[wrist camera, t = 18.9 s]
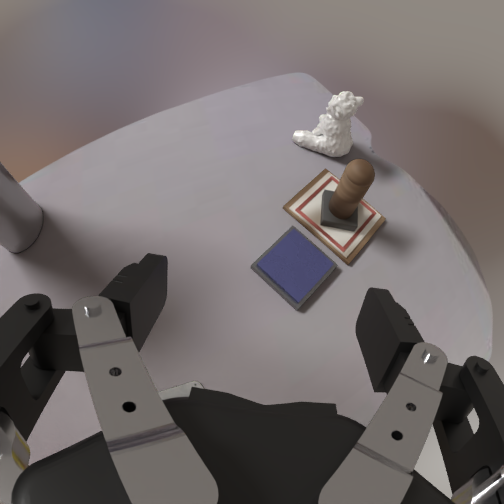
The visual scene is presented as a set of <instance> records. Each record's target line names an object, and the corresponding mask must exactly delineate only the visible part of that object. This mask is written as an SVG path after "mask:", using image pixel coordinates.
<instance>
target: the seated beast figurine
mask: <svg viewBox="0 0 504 504" xmlns="http://www.w3.org/2000/svg"><path fill="white" fill-rule="evenodd" d="M363 101H364V99H363V98H362V97H354V95H353V94H352V93H351V92H349V91H347V92H344V91H343V92H341V93H340V94H339V95H338V96H336V95H333V97H332V99H331V101H330V102H329V103H328V105H329V106H328V107H326V110H327V114H326V115H325V114H323V115H321V116H320V117H319V121H320V123H319V124H318V125H317V127H316V128H315V129H314V130H313V131H312V133H311V132H308V131H307V130H306V131H299V130H298V131H295V133H294V135H293V138H292V141H293V142H294V143H296V144H298V145H299V147H301V146H302V147H305V148H307V149H310V150H313V151H316V152H319V153H323V154H325V155H328V156H330V157H342V156H343V155H345V154H348V152H349V151H350V149H351V146H352V145H353V141H352V137H351V132H350V128H351V120H350V117H352V116H354V114H355V113H356V112H357V108H358V106H361V105H362V104H363Z"/></svg>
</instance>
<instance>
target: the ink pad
mask: <svg viewBox="0 0 504 504" xmlns="http://www.w3.org/2000/svg"><path fill="white" fill-rule="evenodd" d="M337 266H338V265H337V264H336V263H335V262H334V261H333V260H331V259H330V258H329V257H328V256H327V255H326V254H325V253H324V252H322V251H321V250H320V249H319V248H318V247H317V246H316V245H315V244H313V243H312V242H311V241H310V240H309V239H308V238H307V237H305V236H304V235H303V234H302V233H301V232H300V231H299V230H297V229H296V228H295V227H294V226H292V227H291V228H290V229H289V230H288V231H287V232H285V233H284V234H283V235H282V236H281V237H280V238H279V239H278V240H277V241H276V242H275V243H274V244H273V245H272V246H271V247H270V248H269V249H268V250H267V251H266V252H264V253H263V254H262V255H261V256H260V257H259V258H258V259H257V260H256V261H255V262H254V263H253V264H252V265H251V269H252V270H253V271H254V272H256V273H257V274H258V275H259V276H260V277H261V278H262V279H263V280H264V281H265V282H266V283H267V284H268V285H269V286H271V287H272V288H273V289H274V290H275V291H276V292H277V293H278V294H279V295H280V296H281V297H282V298H283V299H284V300H286V301H287V302H288V303H289V304H290V305H291V306H292V307H293V308H294V309H295V310H296V311H297V310H298V309H299V308H300V307H301V306H302V304H303V303H304V302H305V301H306V300H307V299H308V298H309V297H310V296H311V295H312V294H313V293H314V291H315V290H316V289H317V288H318V287H319V286H320V285H321V284H322V283H323V281H324V280H325V279H326V278H327V277H328V276H329V275H330V274H331V273H332V271H333V270H334V269H335V268H336V267H337Z"/></svg>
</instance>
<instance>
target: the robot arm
mask: <svg viewBox="0 0 504 504" xmlns="http://www.w3.org/2000/svg"><path fill="white" fill-rule="evenodd" d="M42 223H43V213H42V210H41V208H40V206H39V205H38V204H37V203H36V202H35V201H34V200H33V199H32V198H31V197H30V196H29V194H28V193H27V192H26V191H25V190H24V189H23V188H22V187H21V185H20V184H19V183H18V182H17V181H16V180H15V179H14V178H13V176H12V175H11V174H10V173H9V172H8V171H7V169H6V168H5V167H4V166H3V165H2V164H1V162H0V245H2V246H3V247H4V248H6V249H7V250H9V251H10V252H13V253H18V252H21V251H24V250H25V249H27V248H28V247H29V246H30V245H32V243H33V242H34V241H35V240H36V238H37V236H38V235H39V232H40V230H41V227H42ZM167 265H168V261H167V257H166V256H163V255H157V254H151V253H148V254H147V255H146V256H145V257H144V258H143V259H142V260H141V261H140V262H139V264H137V263H133V264H131V265H128V266H126V267H124V268H123V269H122V270H121V271H120V272H119V273H118V276H116V277H115V278H114V279H113V281H111V282H110V283H109V284H108V286H107V287H106V288H105V289H104V290H103V291H102V292H101V293H100V295H99V296H89V297H85V298H82V299H80V300H78V301H77V302H76V303H75V304H74V305H73V307H72V309H53V308H52V304H51V300H50V298H49V297H48V296H46V295H43V294H29V295H26V296H24V297H22V298H20V299H19V300H18V301H17V302H16V303H15V304H14V305H13V306H12V307H11V308H10V309H9V310H8V311H7V312H6V313H5V314H4V315H3V316H2V317H1V318H0V504H504V384H503V383H502V381H501V379H500V378H499V376H498V374H497V373H496V371H495V369H494V368H493V366H492V365H491V364H490V363H489V362H488V361H486V360H485V359H483V358H480V357H477V356H471V357H469V358H467V360H466V362H465V363H464V365H463V366H459V365H455V364H451V363H448V359H447V356H446V354H445V353H444V352H443V351H442V350H441V349H440V348H438V347H437V346H435V345H433V344H430V343H425V342H424V340H423V338H422V337H421V335H420V333H419V331H418V330H417V328H416V326H414V323H413V321H412V320H411V319H410V316H409V315H408V313H407V311H406V310H405V309H404V308H403V307H402V306H401V305H399V304H398V303H396V302H395V301H394V299H393V297H392V295H391V294H390V292H389V291H388V290H386V289H379V288H369V289H368V291H367V293H366V296H365V299H364V302H363V305H362V308H361V310H360V313H359V316H358V319H357V322H356V336H357V339H358V342H359V345H360V348H361V351H362V354H363V357H364V360H365V364H366V367H367V370H368V373H369V376H370V380H371V383H372V386H373V390H374V392H386V393H387V396H386V398H385V399H384V401H383V403H382V404H381V406H380V407H379V409H378V411H377V412H376V414H375V415H374V417H373V419H372V420H371V422H370V423H369V425H368V426H367V428H366V427H364V426H363V425H362V424H360V423H358V422H356V421H355V420H352V419H350V418H348V417H345V416H342V415H338V414H337V410H336V404H330V403H313V402H295V403H286V404H276V405H262V404H259V403H256V402H253V401H250V400H247V399H244V398H241V397H238V396H235V395H232V394H229V393H225V392H219V391H213V390H208V389H202V388H197V387H192V388H191V391H190V395H189V397H175V398H169V399H165V400H162V399H161V397H160V395H159V393H158V391H157V390H156V388H155V386H154V384H153V382H152V380H151V378H150V376H149V374H148V372H147V370H146V367H145V365H144V363H143V361H142V359H141V357H140V355H139V352H140V350H141V348H142V346H143V344H144V342H145V340H146V338H147V336H148V335H149V333H150V331H151V329H152V327H153V325H154V323H155V322H156V320H157V318H158V316H159V314H160V312H161V311H162V309H163V307H164V305H165V301H166V297H167ZM28 352H29V355H30V356H29V358H28V359H27V360H26V362H25V363H24V364H23V366H22V367H21V362H22V360H23V358H24V357H25V355H26V354H27V353H28ZM65 371H80V372H85V376H86V379H87V383H88V387H89V390H90V394H91V397H92V401H93V404H94V407H95V411H96V414H97V417H98V420H99V423H100V426H101V429H102V431H100V432H98V433H96V434H94V435H92V436H90V437H88V438H86V439H84V440H82V441H80V442H78V443H76V444H74V445H72V446H70V447H68V448H66V449H63V450H61V451H59V452H57V453H55V454H53V455H50V456H48V457H46V458H44V459H42V460H39V461H37V462H35V463H33V464H31V465H30V466H29V465H28V463H29V459H30V449H29V446H28V444H27V442H26V441H27V439H28V437H29V435H30V434H31V432H32V430H33V428H34V426H35V424H36V422H37V420H38V418H39V417H40V415H41V413H42V411H43V409H44V407H45V406H46V404H47V402H48V400H49V399H50V397H51V395H52V393H53V392H54V390H55V388H56V386H57V385H58V383H59V381H60V380H61V378H62V376H63V375H64V373H65ZM473 408H475V411H476V413H477V415H478V417H479V428H478V430H477V432H476V433H475V434H473V431H472V429H471V426H470V424H469V421H468V419H467V416H468V414H469V413H470V412H471V411H472V409H473ZM432 424H433V427H434V429H435V433H436V436H437V439H438V443H439V446H440V449H441V453H442V456H443V460H444V463H445V467H446V471H447V475H448V478H449V482H450V486H451V490H452V494H453V495H452V498H451V500H450V499H449V498H448V497H447V496H445V495H444V494H443V493H442V492H441V491H439V490H438V489H437V488H436V487H434V486H433V485H432V484H431V483H430V482H428V481H427V480H426V479H425V478H424V477H422V476H421V475H420V474H419V473H418V472H417V471H415V470H414V467H415V465H416V462H417V460H418V458H419V456H420V453H421V451H422V449H423V446H424V444H425V442H426V439H427V437H428V434H429V432H430V429H431V426H432Z"/></svg>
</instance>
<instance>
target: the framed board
mask: <svg viewBox="0 0 504 504" xmlns="http://www.w3.org/2000/svg"><path fill="white" fill-rule="evenodd" d="M339 181H340V180H339V179H338V178H337V177H336V176H334V175H333V174H332V173H331V172H329V171H328V170H327V169H326V168H325V169H324V170H323V171H322V172H321V173H320V174H319V175H318V176H317V177H315V178H314V179H313V180H312V181H311V182H310V183H309V184H308V185H306V186H305V187H304V188H303V189H302V190H301V191H300V192H299V193H297V194H296V195H295V196H294V197H293V198H292V199H291V200H290V201H289V202H287V203H286V204H285V205H284V206H283V209H284V210H285V211H286V212H287V213H289V214H290V215H291V216H292V217H293V218H294V219H296V220H297V221H298V222H299V223H300V224H301V225H303V226H304V227H305V228H306V229H307V230H308V231H310V232H311V233H312V234H313V235H314V236H315V237H316V238H318V239H319V240H320V241H321V242H322V243H323V244H324V245H326V246H327V247H328V248H329V249H330V250H331V251H332V252H333V253H335V254H336V255H337V256H338V257H339V258H340V259H341V260H342V261H343V262H345V263H346V264H347V265H348V264H349V263H350V262H351V261H352V260H353V258H354V257H355V256H356V255H357V254H358V252H359V251H360V250H361V249H362V248H363V246H364V245H365V244H366V243H367V242H368V240H369V239H370V238H371V237H372V235H373V234H374V233H375V232H376V230H377V229H378V228H379V227H380V226H381V224H382V223H383V222H384V220H385V219H386V218H385V217H383V216H382V215H381V214H380V213H379V212H378V211H377V210H375V209H374V208H373V207H372V206H371V205H370V204H368V203H367V202H366V201H365V200H364V199H363V198H362V200H361V201H360V203H359V205H358V227H357V229H356V230H355V231H348V230H343V229H338V228H332V227H327V226H322V225H320V220H321V204H322V194H323V192H324V189H325V190H330V191H335V189H336V187H337V185H338V183H339Z"/></svg>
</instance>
